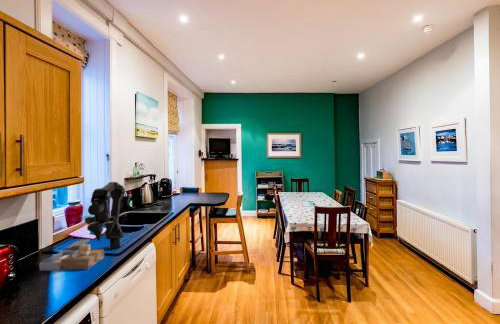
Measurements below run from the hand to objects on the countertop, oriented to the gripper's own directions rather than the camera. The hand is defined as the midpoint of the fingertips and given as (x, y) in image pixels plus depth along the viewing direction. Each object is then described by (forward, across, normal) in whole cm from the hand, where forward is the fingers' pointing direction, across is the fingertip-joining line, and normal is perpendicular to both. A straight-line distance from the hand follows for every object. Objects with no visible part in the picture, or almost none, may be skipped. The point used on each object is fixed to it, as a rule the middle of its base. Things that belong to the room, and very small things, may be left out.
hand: (103, 237), depth 143 cm
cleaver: (+13, -16, -31) cm, 37 cm away
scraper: (+7, +6, -7) cm, 12 cm away
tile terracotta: (+10, +9, -21) cm, 24 cm away
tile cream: (+10, +3, -20) cm, 23 cm away
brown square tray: (+12, +6, -8) cm, 16 cm away
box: (+12, +6, -21) cm, 25 cm away
